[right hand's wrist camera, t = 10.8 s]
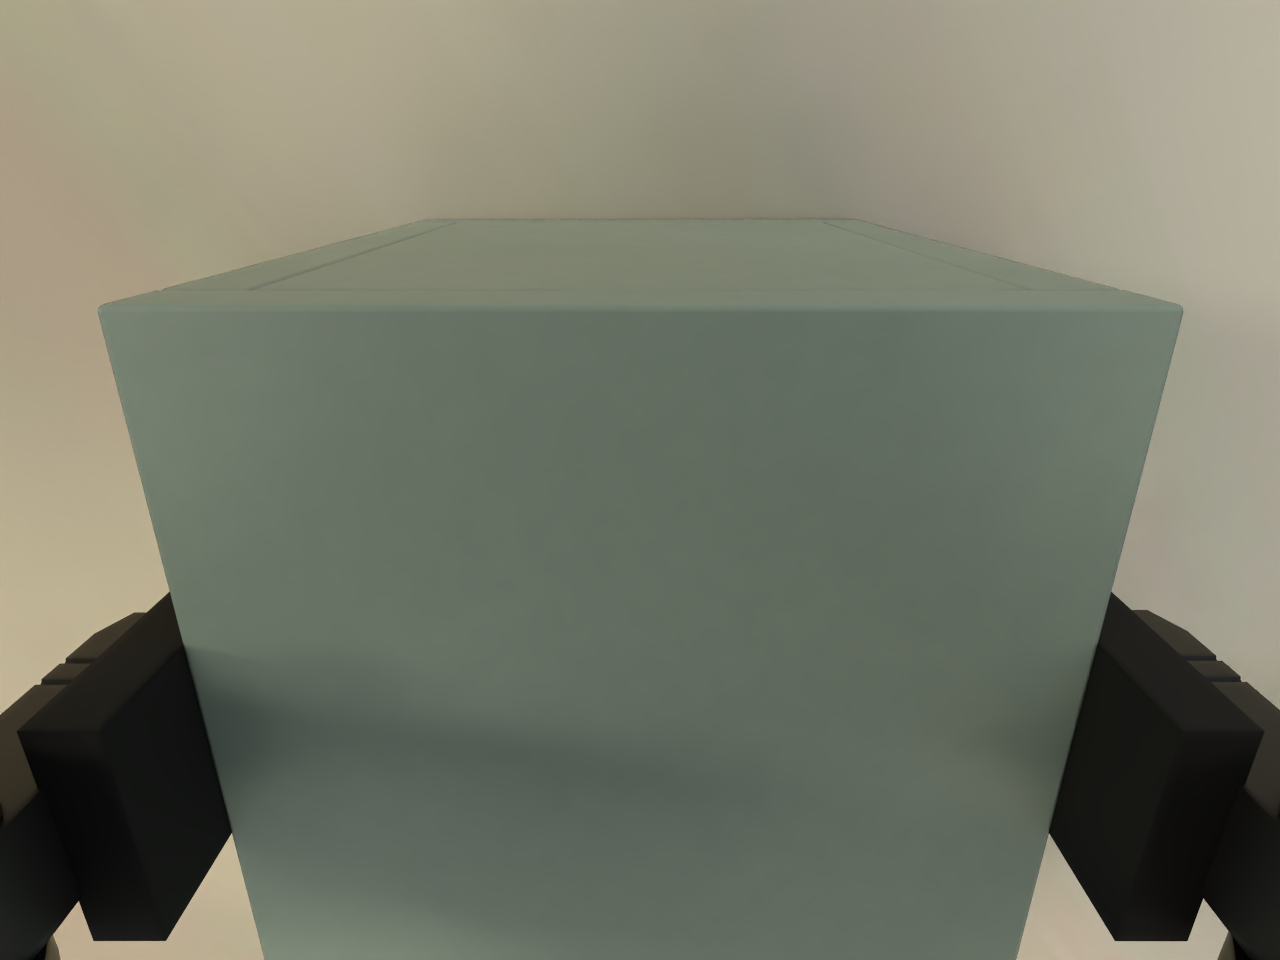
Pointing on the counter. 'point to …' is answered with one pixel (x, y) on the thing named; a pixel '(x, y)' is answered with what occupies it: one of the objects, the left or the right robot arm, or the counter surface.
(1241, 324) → the counter surface
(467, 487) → the cabinet
